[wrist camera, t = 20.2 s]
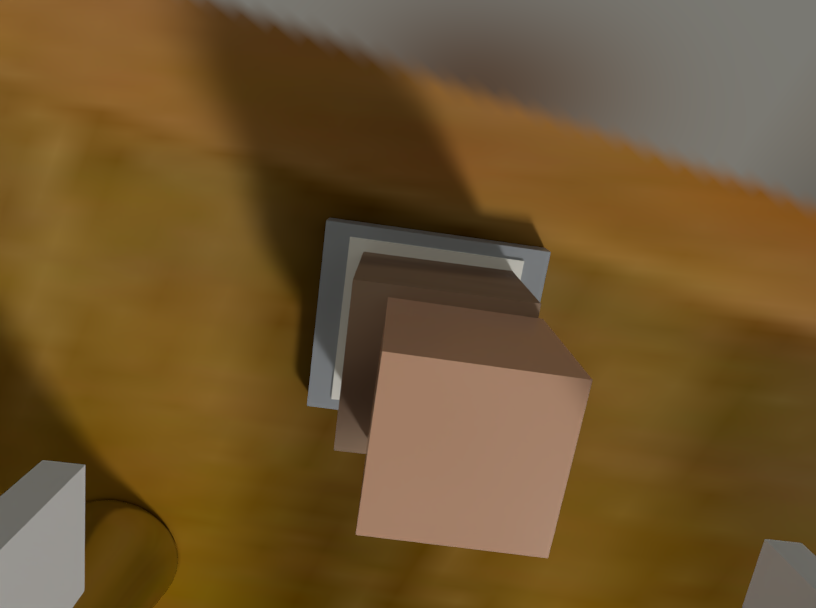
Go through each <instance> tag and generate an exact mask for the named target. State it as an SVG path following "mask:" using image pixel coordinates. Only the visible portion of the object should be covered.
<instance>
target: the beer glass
mask: <svg viewBox="0 0 816 608" xmlns="http://www.w3.org/2000/svg"><path fill="white" fill-rule="evenodd" d="M177 566H178V553H177V548H176V545H175V542H174V540H173V538H172V536H171V534H170V532H169V531H168V530H167V528H166V527H165V526H164V525H163V524H162V523H161V522H160V521H159V520H158V519H157V518H156V517H155V516H153V515H152V514H151V513H149V512H148V511H146V510H144V509H142V508H140V507H138V506H136V505H133V504H130V503H126V502H122V501H116V500H97V501H92V502H88V503H85V589H84V592H83V594H82V595H81V597H80V598H79V599H78V601H77V602H76V604H75V605H74V606H73V608H153V607H154V606H155V605H156V604H157V603H158V601H159V600H160V599H161V598H162V597H163V595H164V594H165V593H166V591H167V590H168V588H169V587H170V585H171V584H172V582H173V580H174V577H175V574H176V571H177Z"/></svg>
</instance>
